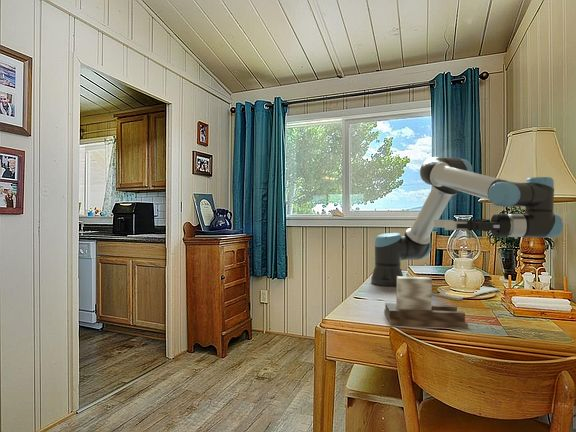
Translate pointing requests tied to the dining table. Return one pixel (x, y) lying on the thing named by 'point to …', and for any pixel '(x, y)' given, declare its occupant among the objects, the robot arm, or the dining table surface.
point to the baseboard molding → (444, 295)
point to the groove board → (426, 323)
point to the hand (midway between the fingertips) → (439, 224)
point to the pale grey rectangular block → (414, 293)
